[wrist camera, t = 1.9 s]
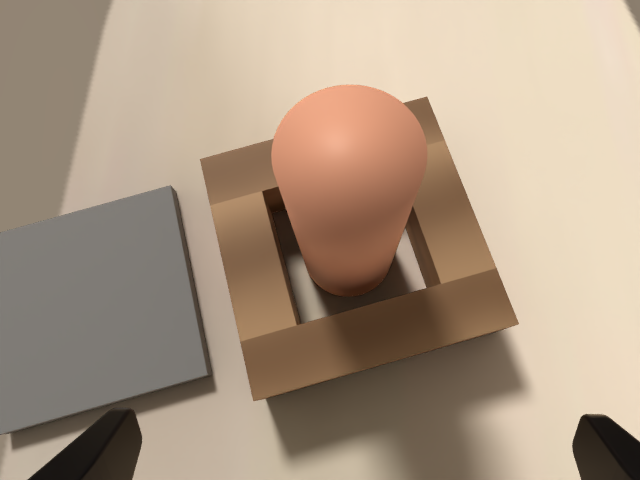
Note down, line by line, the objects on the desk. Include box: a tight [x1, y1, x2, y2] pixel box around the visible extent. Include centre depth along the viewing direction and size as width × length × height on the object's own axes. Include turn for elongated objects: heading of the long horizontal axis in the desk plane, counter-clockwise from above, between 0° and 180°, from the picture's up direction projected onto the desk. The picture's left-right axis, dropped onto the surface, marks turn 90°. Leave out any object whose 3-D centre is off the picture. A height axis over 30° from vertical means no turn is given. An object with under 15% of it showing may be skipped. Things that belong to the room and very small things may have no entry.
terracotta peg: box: [271, 85, 427, 297], centre depth 19 cm, size 4×4×11 cm
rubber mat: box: [0, 185, 212, 435], centre depth 24 cm, size 10×10×1 cm
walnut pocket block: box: [200, 97, 519, 401], centre depth 23 cm, size 12×12×3 cm
